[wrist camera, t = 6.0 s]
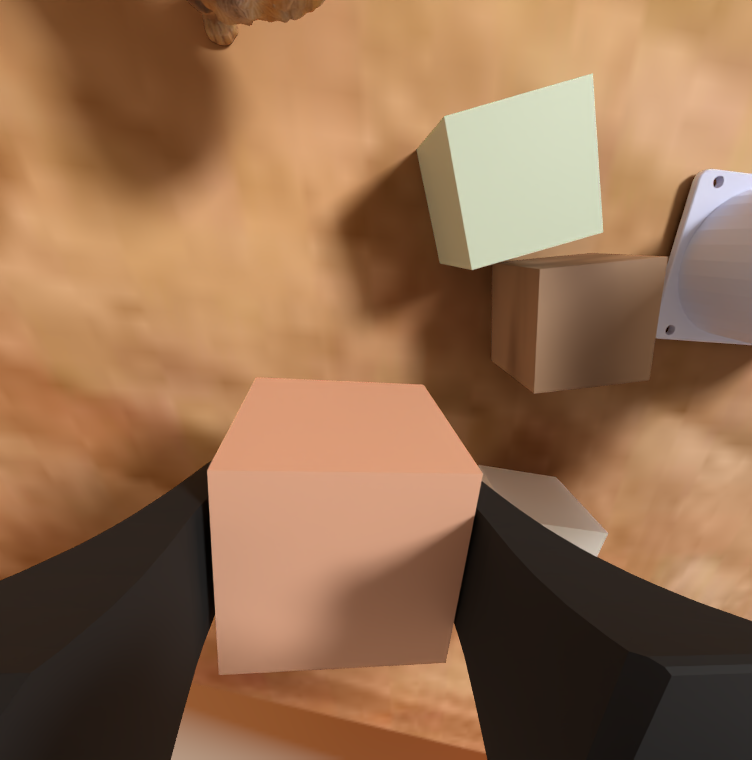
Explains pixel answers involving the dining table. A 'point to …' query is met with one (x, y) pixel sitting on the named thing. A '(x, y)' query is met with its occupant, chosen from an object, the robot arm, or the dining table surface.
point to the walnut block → (576, 319)
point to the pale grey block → (547, 505)
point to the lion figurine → (247, 14)
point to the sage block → (514, 175)
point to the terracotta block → (338, 527)
